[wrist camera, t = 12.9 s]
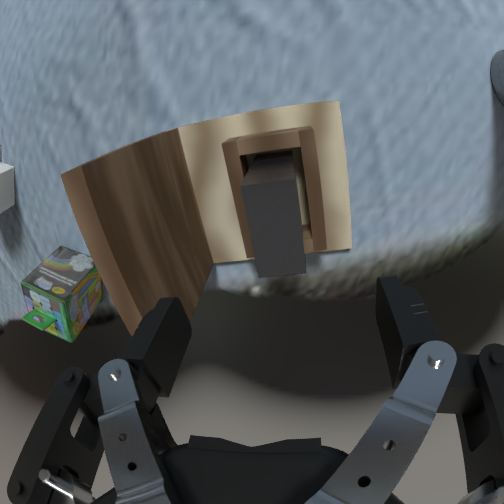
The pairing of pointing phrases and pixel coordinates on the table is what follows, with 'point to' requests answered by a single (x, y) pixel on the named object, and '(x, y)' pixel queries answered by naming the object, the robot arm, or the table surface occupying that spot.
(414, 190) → the table surface
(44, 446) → the robot arm
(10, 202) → the white stepped block
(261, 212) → the dark grey block
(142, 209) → the post socket
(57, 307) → the chalk box
